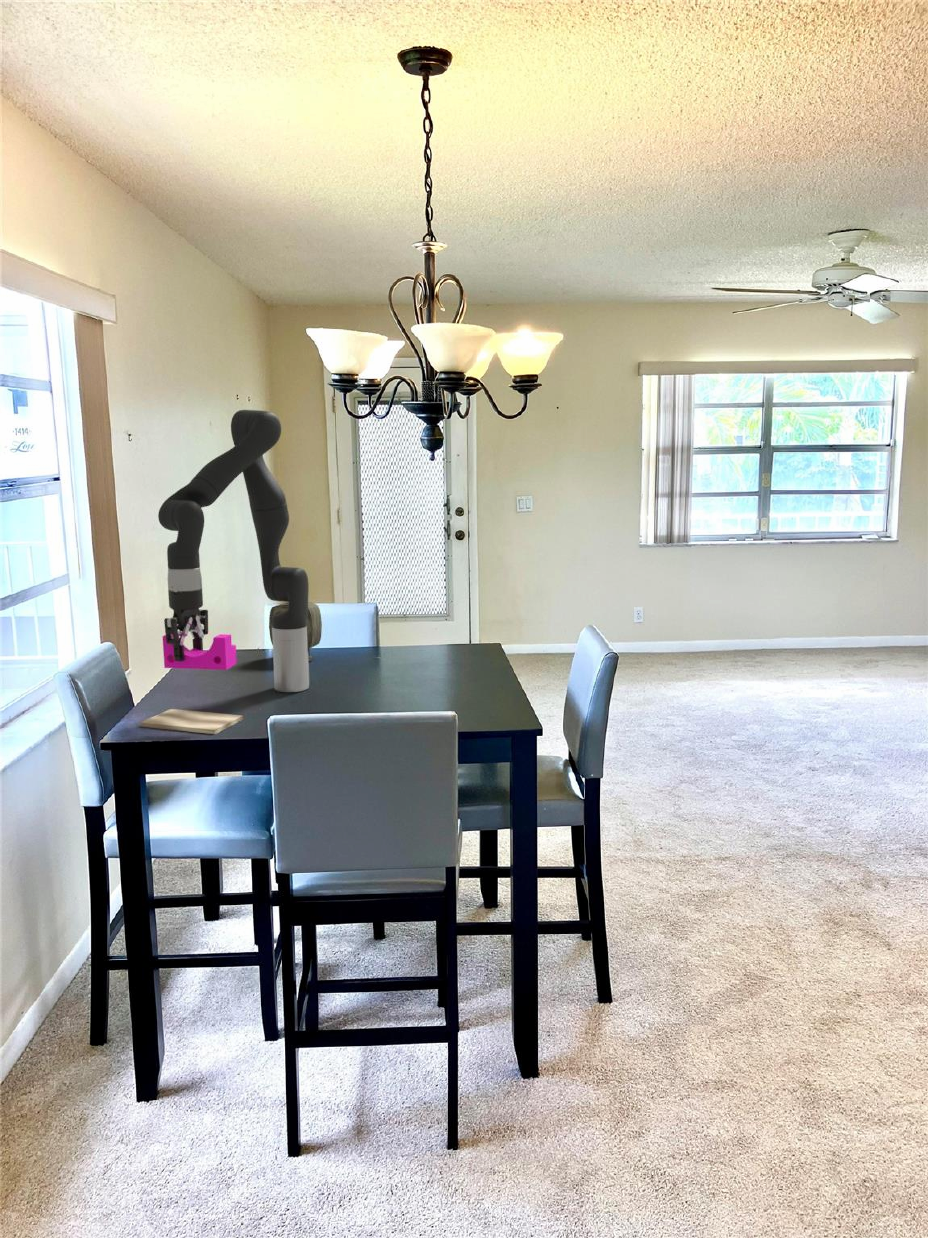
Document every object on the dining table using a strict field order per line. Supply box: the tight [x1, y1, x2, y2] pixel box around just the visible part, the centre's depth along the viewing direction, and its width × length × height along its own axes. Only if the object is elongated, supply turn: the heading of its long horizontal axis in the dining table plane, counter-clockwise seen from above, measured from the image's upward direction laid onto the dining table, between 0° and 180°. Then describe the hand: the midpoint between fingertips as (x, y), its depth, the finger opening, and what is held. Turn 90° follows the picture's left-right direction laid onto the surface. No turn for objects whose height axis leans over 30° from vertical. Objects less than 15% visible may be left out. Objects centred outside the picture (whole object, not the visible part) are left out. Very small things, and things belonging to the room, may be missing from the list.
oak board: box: [139, 708, 244, 735], centre depth 210 cm, size 12×20×1 cm, turn 73°
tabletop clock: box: [268, 601, 323, 662], centre depth 276 cm, size 14×9×25 cm, turn 77°
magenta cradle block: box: [162, 633, 238, 671], centre depth 206 cm, size 15×6×8 cm, turn 82°
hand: (189, 657), depth 207 cm, fingers closed on magenta cradle block, 7 cm apart
